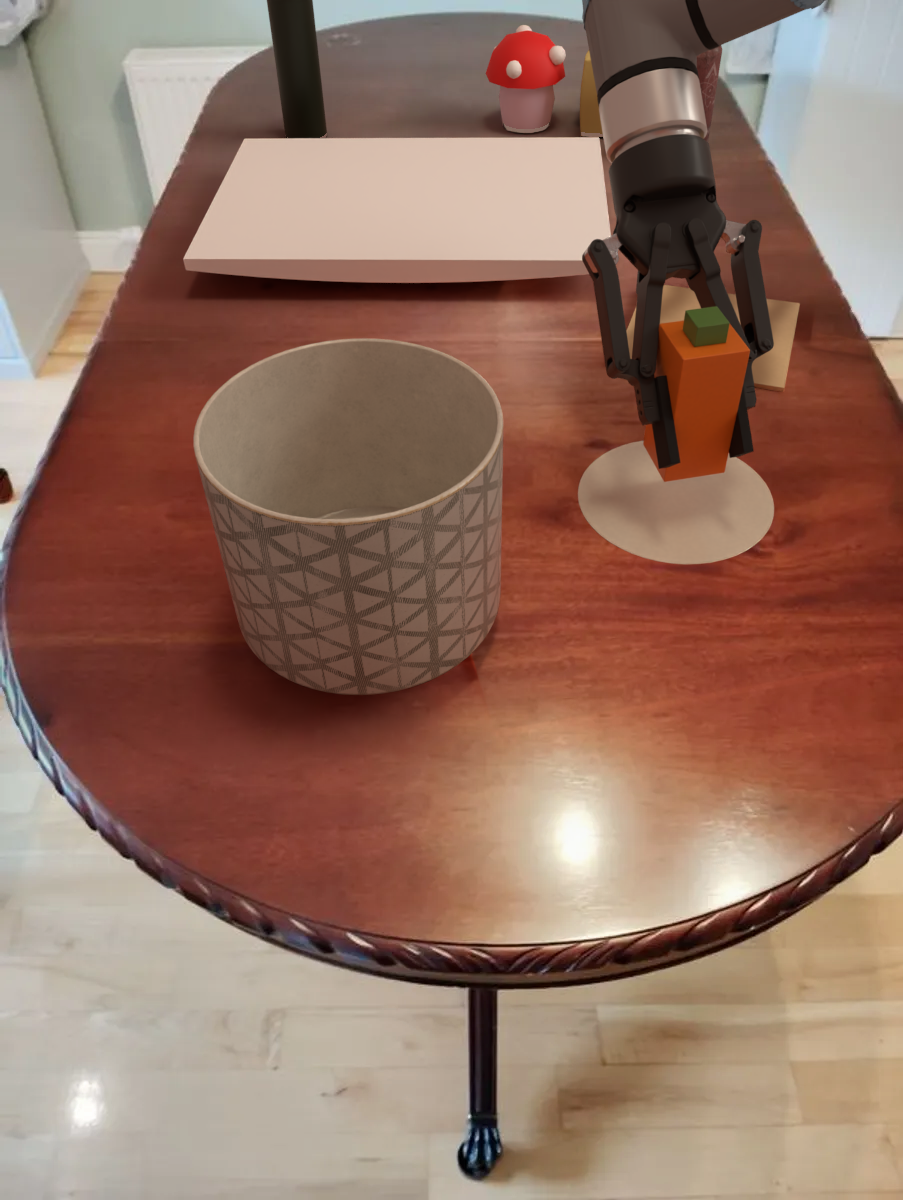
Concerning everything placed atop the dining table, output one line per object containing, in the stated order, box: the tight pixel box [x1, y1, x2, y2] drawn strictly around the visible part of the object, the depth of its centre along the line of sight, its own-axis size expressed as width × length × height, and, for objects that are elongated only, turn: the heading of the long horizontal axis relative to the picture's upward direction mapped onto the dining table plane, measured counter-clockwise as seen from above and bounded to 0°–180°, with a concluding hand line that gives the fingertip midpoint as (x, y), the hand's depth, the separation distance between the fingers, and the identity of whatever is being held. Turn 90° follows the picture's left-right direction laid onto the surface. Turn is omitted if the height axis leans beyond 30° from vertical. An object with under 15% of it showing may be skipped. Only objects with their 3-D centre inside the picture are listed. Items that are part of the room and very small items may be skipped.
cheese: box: [579, 49, 603, 134], centre depth 135 cm, size 10×11×10 cm
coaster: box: [626, 284, 801, 393], centre depth 100 cm, size 16×16×1 cm
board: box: [182, 136, 612, 284], centre depth 117 cm, size 45×32×5 cm
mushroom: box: [485, 24, 567, 129], centre depth 136 cm, size 11×11×12 cm
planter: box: [193, 337, 504, 696], centre depth 68 cm, size 19×19×18 cm
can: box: [697, 45, 723, 143], centre depth 126 cm, size 6×6×14 cm
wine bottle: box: [266, 0, 328, 138], centre depth 128 cm, size 6×6×30 cm
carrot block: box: [643, 306, 750, 482], centre depth 75 cm, size 5×5×13 cm
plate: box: [577, 439, 775, 565], centre depth 83 cm, size 16×16×1 cm
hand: (705, 459), depth 75 cm, fingers closed on carrot block, 5 cm apart
